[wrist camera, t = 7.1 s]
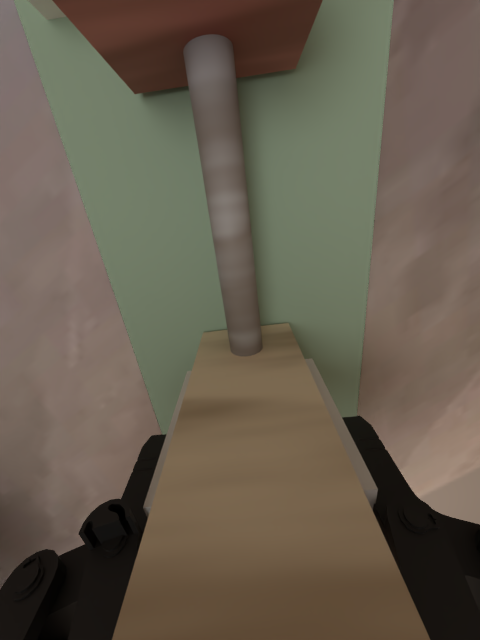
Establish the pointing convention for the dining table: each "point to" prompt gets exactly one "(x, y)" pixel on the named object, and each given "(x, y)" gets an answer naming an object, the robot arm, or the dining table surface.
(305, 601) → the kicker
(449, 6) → the dining table surface
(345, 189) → the pitch
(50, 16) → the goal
